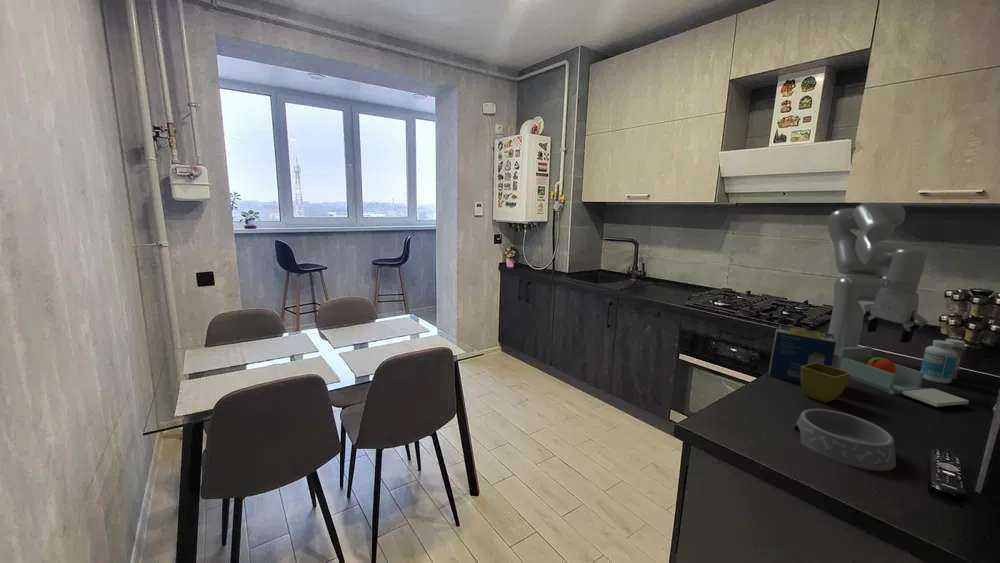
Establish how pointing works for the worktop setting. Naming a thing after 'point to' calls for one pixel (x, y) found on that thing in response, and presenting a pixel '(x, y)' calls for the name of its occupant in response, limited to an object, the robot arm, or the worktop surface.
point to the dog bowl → (847, 439)
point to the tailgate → (934, 397)
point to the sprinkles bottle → (958, 348)
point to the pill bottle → (939, 362)
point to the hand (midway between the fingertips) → (887, 336)
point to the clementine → (882, 364)
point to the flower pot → (823, 381)
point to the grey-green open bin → (876, 371)
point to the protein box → (799, 351)
